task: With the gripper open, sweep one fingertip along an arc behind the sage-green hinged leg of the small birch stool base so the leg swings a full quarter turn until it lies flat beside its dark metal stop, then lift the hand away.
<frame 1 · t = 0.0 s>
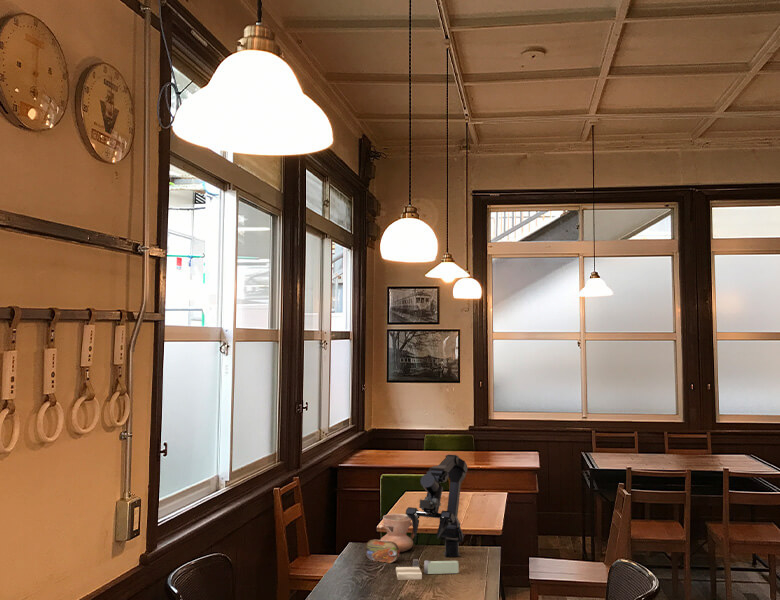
hand: (426, 536, 269), 15 cm above the table, tool tilted 35°, fingers open, 9 cm apart
stool leg: (441, 566, 272), point 3 cm above the table, hinge at 0.0°
leg stop: (415, 567, 279), on the table
tin: (382, 561, 287), on the table
stool seat: (408, 575, 268), on the table
ceramic jug: (397, 550, 304), on the table
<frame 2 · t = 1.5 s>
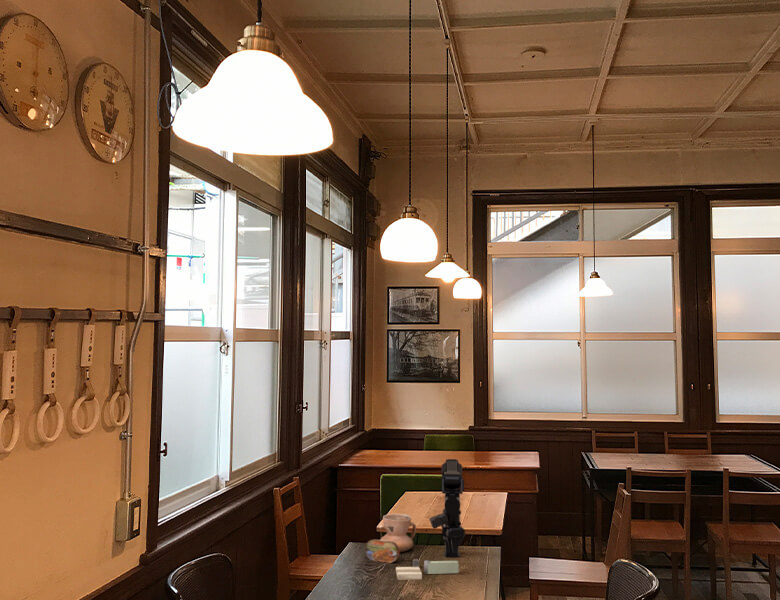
hand: (452, 549, 262), 12 cm above the table, tool pointing down, fingers open, 9 cm apart
nothing on the table moved.
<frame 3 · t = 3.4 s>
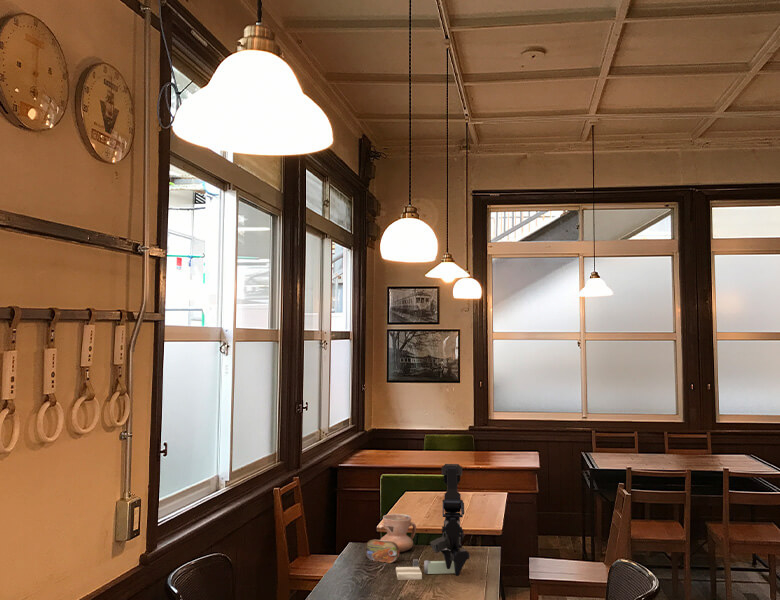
hand: (452, 572, 265), 2 cm above the table, tool pointing down, fingers open, 8 cm apart
stool leg: (441, 566, 272), point 3 cm above the table, hinge at 0.1°, touching gripper
everything else where it was.
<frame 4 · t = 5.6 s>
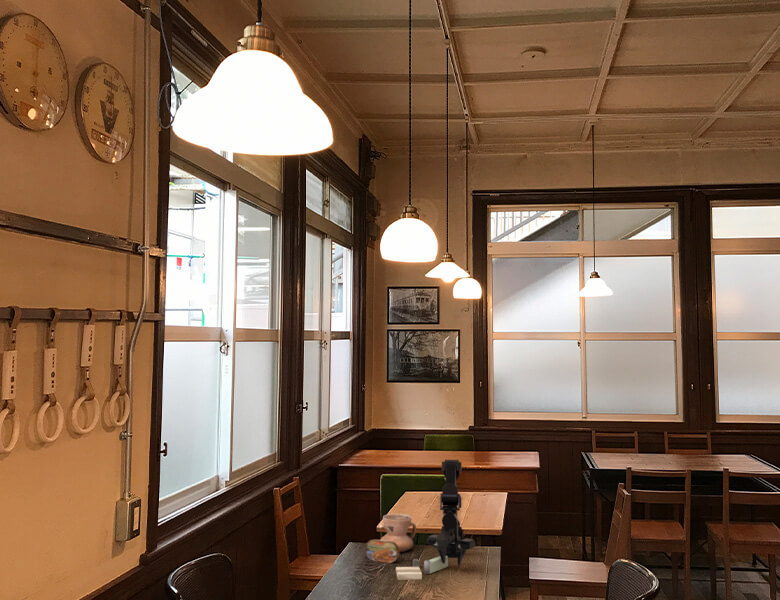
hand: (451, 564, 274), 3 cm above the table, tool pointing down, fingers open, 6 cm apart
stool leg: (435, 563, 275), point 3 cm above the table, hinge at 44.9°, touching gripper
everything else where it was.
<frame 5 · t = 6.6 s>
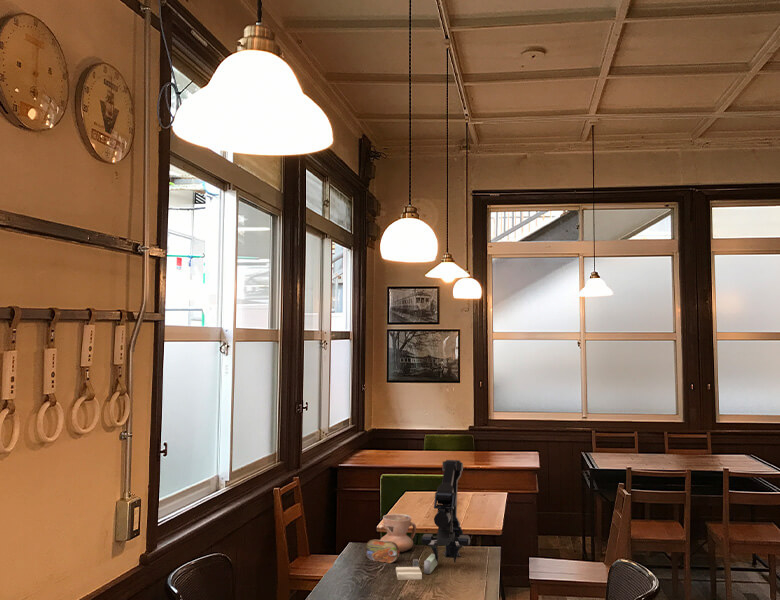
hand: (446, 562, 277), 3 cm above the table, tool pointing down, fingers open, 6 cm apart
stool leg: (430, 563, 276), point 2 cm above the table, hinge at 67.9°, touching gripper
everything else where it was.
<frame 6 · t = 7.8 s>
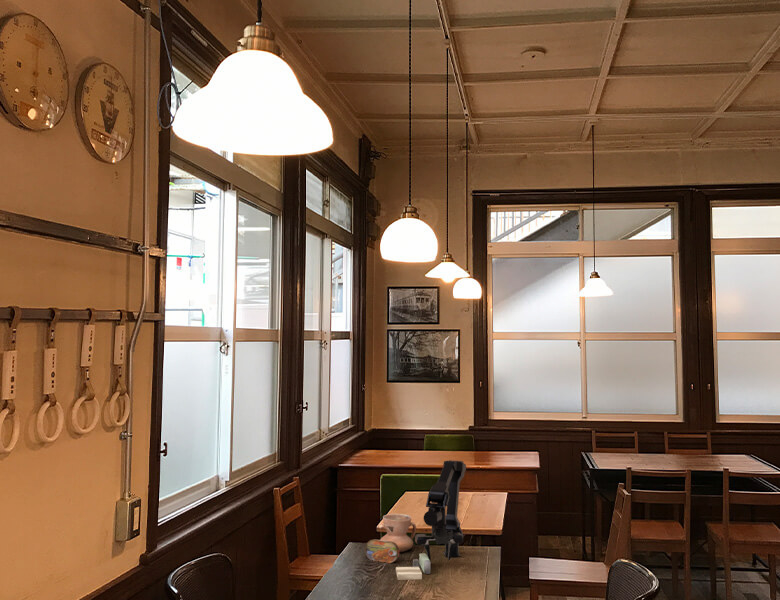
hand: (439, 560, 279), 3 cm above the table, tool pointing down, fingers open, 7 cm apart
stool leg: (425, 562, 277), point 3 cm above the table, hinge at 90.9°, touching gripper
everything else where it was.
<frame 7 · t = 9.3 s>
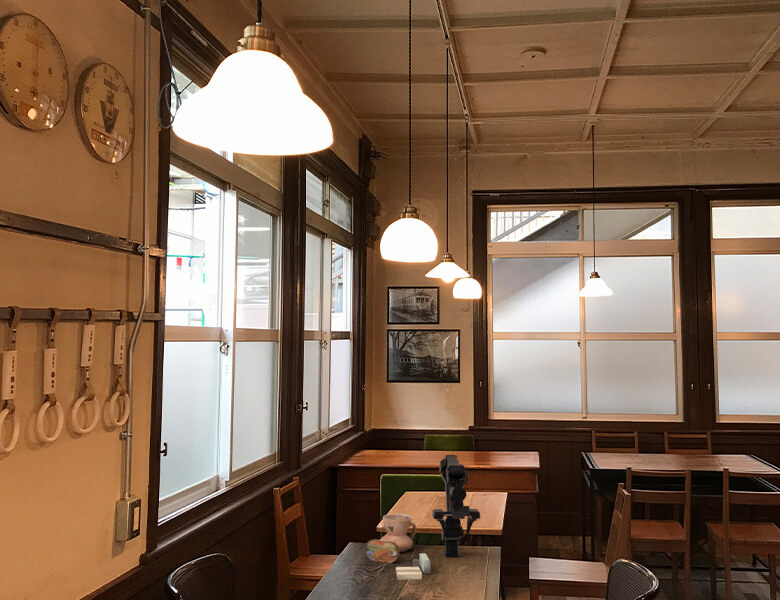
hand: (456, 535, 282), 12 cm above the table, tool pointing down, fingers open, 9 cm apart
stool leg: (425, 562, 277), point 3 cm above the table, hinge at 90.8°
everything else where it was.
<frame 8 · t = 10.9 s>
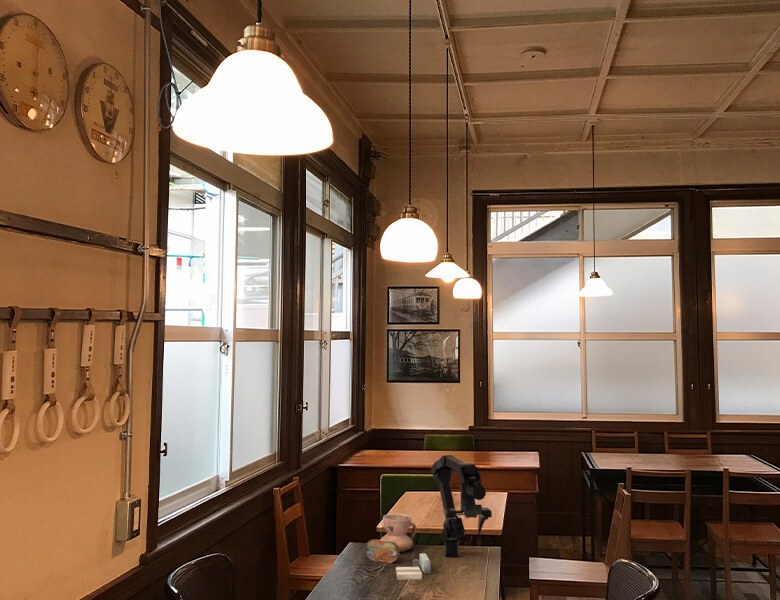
hand: (467, 534, 284), 12 cm above the table, tool pointing down, fingers open, 9 cm apart
nothing on the table moved.
at the end: stool leg at +91° (first picture: +0°); tin moved 0.3 cm from its start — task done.
